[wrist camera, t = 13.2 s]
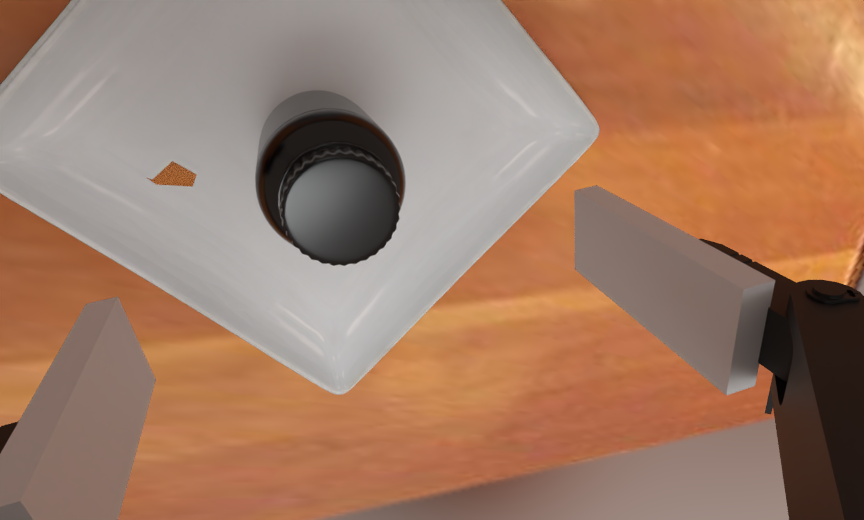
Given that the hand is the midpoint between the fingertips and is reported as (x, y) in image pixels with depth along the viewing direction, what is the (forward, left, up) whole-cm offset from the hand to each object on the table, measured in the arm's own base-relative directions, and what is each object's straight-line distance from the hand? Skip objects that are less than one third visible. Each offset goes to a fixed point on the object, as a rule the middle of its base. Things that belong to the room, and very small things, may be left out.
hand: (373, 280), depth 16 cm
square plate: (0, 0, -23) cm, 23 cm away
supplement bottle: (0, 0, -19) cm, 19 cm away
